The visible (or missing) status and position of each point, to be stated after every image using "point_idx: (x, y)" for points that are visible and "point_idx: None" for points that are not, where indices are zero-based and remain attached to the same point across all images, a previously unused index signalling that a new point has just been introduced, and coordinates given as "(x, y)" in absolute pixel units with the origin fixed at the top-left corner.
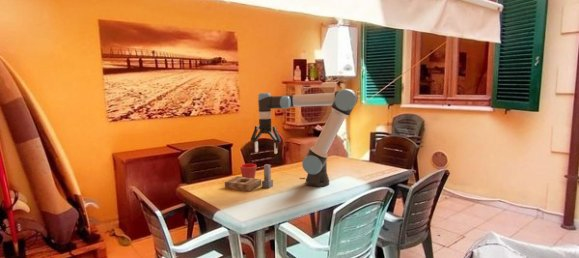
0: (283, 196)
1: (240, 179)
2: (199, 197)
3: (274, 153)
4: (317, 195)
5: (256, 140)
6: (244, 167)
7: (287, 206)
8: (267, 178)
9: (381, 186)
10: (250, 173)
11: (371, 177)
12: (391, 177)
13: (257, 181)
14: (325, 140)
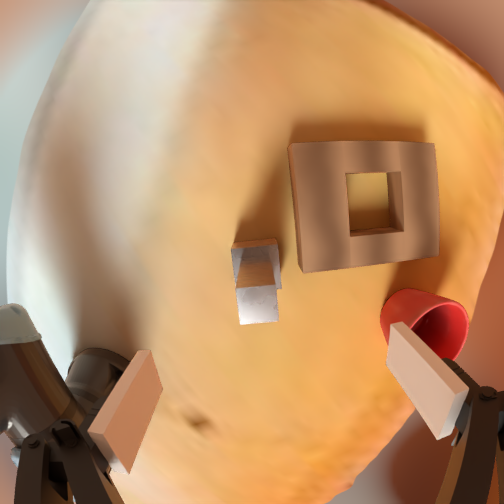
0: (111, 177)
1: (402, 221)
2: (403, 22)
3: (147, 351)
4: (34, 260)
5: (459, 435)
6: (439, 302)
7: (57, 101)
8: (246, 261)
9: None
10: (399, 311)
11: None
12: None
13: (299, 230)
14: None
